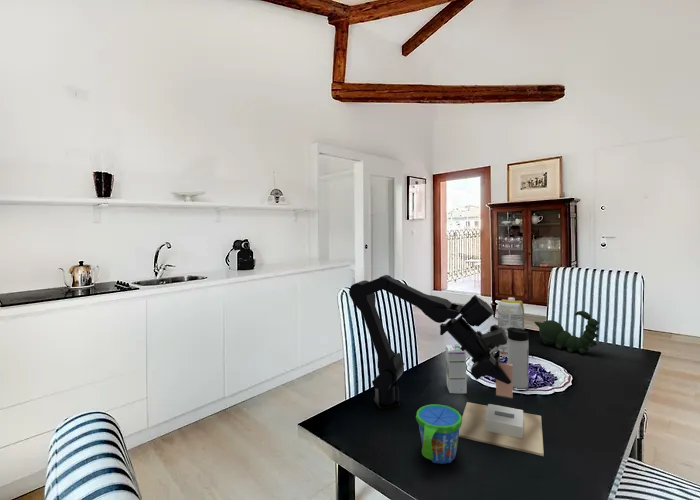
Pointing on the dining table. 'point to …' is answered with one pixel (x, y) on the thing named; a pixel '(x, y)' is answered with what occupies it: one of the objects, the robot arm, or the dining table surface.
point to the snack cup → (439, 432)
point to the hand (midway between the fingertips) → (509, 381)
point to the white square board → (504, 420)
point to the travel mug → (518, 356)
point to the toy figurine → (556, 333)
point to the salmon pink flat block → (502, 387)
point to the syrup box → (456, 369)
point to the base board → (476, 431)
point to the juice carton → (509, 319)
